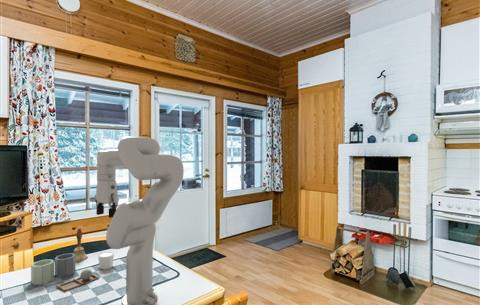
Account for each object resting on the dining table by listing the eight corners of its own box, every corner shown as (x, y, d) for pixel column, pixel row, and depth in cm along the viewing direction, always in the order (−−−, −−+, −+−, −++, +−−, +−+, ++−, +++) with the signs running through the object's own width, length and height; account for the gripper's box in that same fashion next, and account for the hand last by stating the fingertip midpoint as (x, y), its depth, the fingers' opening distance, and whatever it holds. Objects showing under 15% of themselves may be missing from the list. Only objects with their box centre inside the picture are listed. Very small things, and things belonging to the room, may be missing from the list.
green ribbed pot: (56, 281, 121) (56, 261, 121) (36, 288, 115) (36, 267, 115) (48, 277, 125) (48, 258, 125) (28, 283, 119) (28, 263, 119)
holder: (98, 280, 122) (98, 276, 122) (64, 294, 110) (64, 289, 110) (90, 276, 126) (90, 272, 126) (56, 289, 114) (56, 285, 114)
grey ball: (93, 279, 121) (93, 269, 121) (83, 283, 118) (83, 272, 118) (88, 276, 124) (88, 266, 124) (78, 280, 120) (78, 270, 120)
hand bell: (70, 257, 149) (71, 227, 149) (88, 254, 152) (88, 226, 152) (68, 262, 141) (68, 231, 141) (87, 260, 145) (87, 230, 145)
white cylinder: (107, 272, 130) (107, 257, 130) (94, 271, 132) (95, 256, 132) (116, 266, 137) (116, 252, 137) (104, 265, 139) (104, 251, 138)
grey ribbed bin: (77, 274, 128) (78, 255, 128) (60, 280, 122) (60, 260, 122) (69, 270, 133) (69, 252, 133) (52, 275, 126) (52, 257, 126)
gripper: (125, 178, 122) (125, 216, 122) (103, 176, 132) (103, 211, 132) (109, 179, 116) (109, 220, 116) (87, 177, 126) (87, 214, 126)
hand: (106, 215), depth 124 cm, fingers open, 9 cm apart
